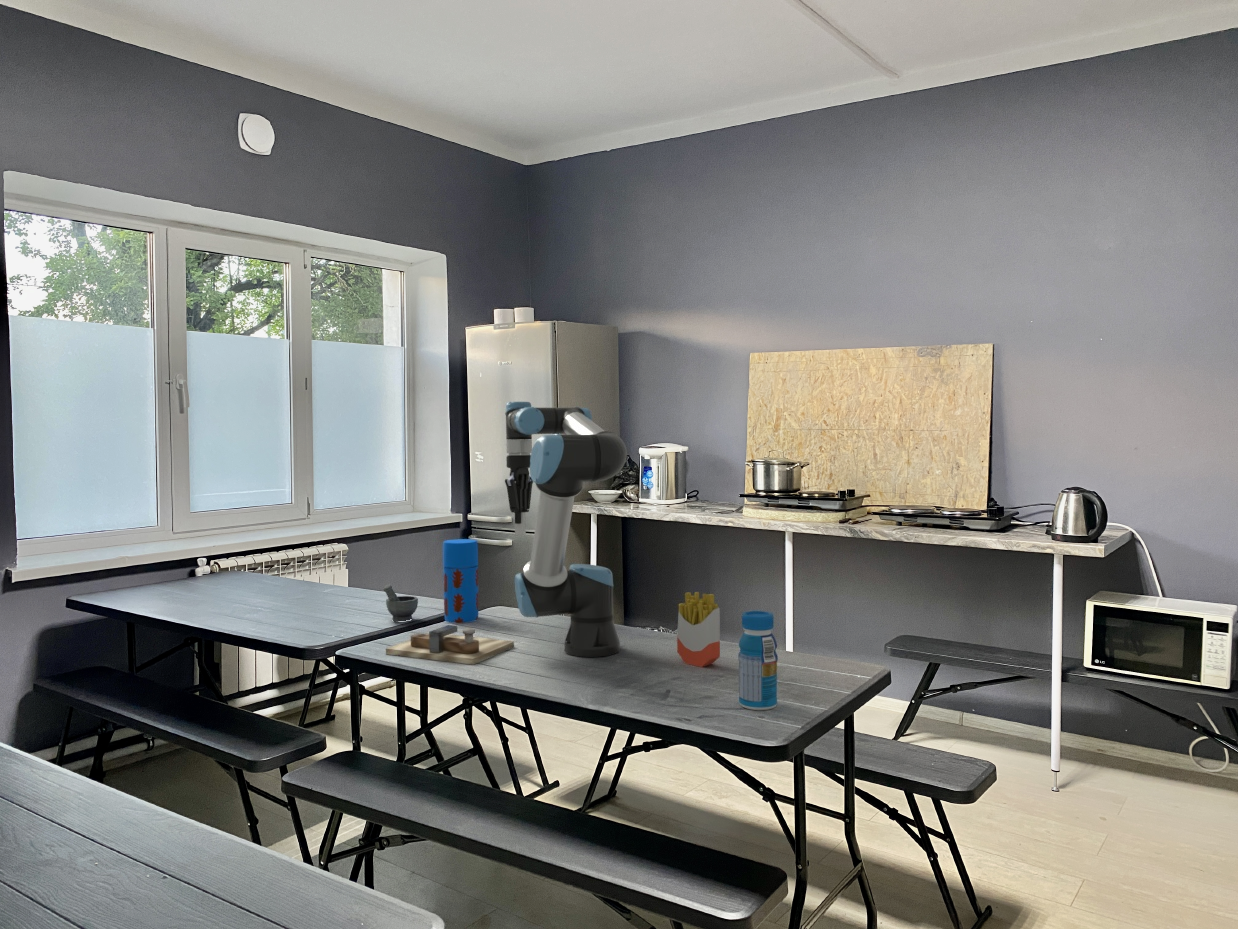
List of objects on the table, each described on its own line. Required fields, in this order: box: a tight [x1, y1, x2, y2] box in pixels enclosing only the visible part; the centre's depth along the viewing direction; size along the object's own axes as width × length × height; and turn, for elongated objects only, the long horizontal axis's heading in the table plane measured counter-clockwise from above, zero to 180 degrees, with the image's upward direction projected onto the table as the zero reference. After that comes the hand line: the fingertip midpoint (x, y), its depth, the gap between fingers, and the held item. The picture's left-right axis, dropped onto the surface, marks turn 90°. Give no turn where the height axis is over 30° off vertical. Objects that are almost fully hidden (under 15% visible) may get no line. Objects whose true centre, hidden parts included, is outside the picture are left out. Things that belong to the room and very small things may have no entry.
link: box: [410, 627, 479, 654], centre depth 236 cm, size 22×5×6 cm, turn 63°
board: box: [385, 633, 515, 665], centre depth 240 cm, size 28×20×2 cm
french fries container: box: [676, 591, 721, 668], centre depth 224 cm, size 5×11×18 cm, turn 43°
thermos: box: [442, 538, 480, 624], centre depth 280 cm, size 11×11×25 cm
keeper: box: [429, 624, 458, 653], centre depth 236 cm, size 3×9×6 cm, turn 156°
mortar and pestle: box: [382, 584, 419, 622], centre depth 279 cm, size 11×9×12 cm
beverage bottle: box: [737, 610, 779, 711], centre depth 190 cm, size 8×8×20 cm
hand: (520, 534), depth 258 cm, fingers closed
